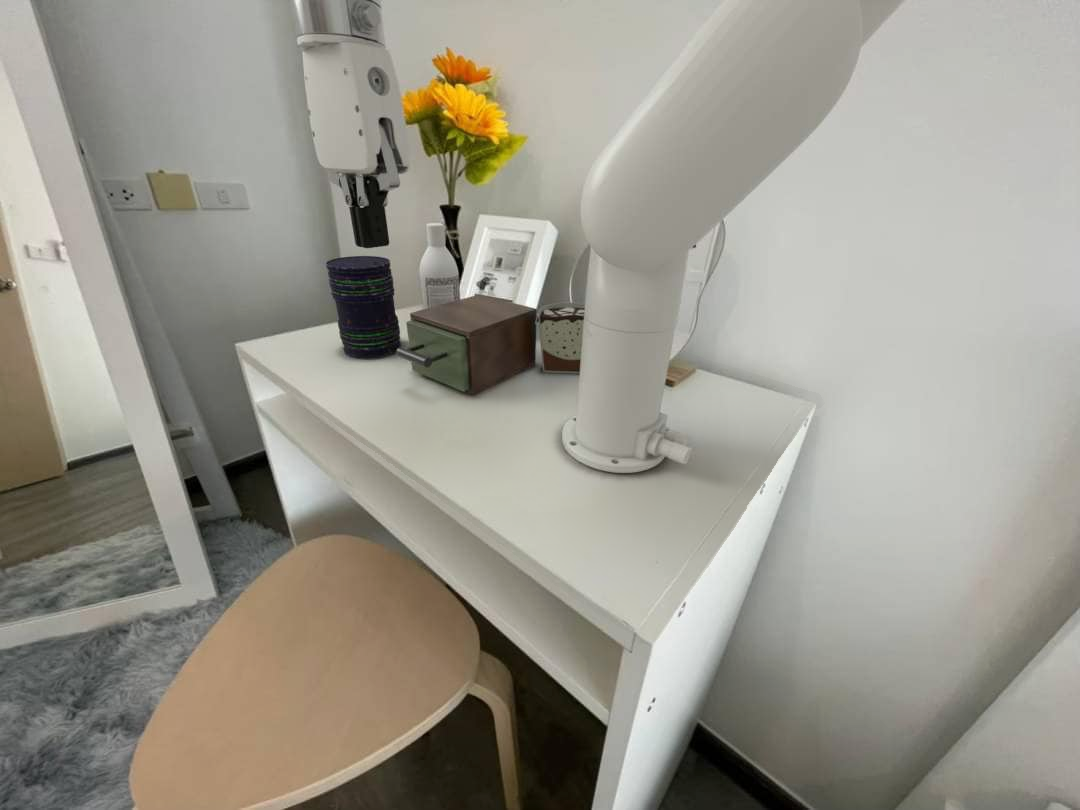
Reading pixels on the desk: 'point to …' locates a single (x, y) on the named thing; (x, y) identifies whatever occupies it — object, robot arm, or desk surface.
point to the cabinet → (488, 336)
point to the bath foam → (438, 270)
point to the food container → (561, 336)
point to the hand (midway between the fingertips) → (373, 245)
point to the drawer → (437, 354)
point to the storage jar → (365, 305)
